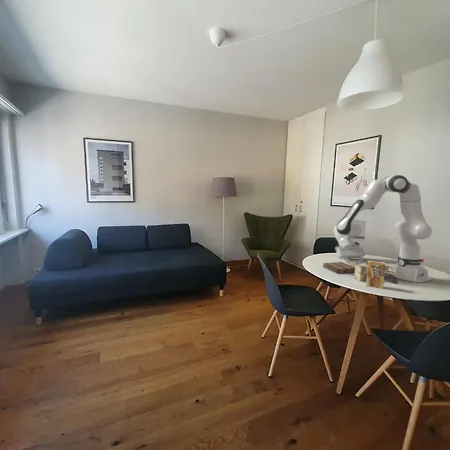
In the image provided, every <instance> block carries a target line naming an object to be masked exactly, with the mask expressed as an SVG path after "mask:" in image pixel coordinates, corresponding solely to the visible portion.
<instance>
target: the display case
mask: <svg viewBox="0 0 450 450" xmlns="http://www.w3.org/2000/svg"><path fill="white" fill-rule="evenodd" d="M352 223H356V224H358V225H359V226H360V227H361V232H360V234H359V235H358V236H356V237H354V238H351V240H352V241H355V242H358V243H360V246H361V247H362V248H363V243H364V242H365V238H366V237H365V235H366V225H367V219H366V218H363V219H356V218H355V219H354V220H353V222H352ZM347 259H348V260H350V261H351V262H358V263H360V262H359V260H360V259H359V258H347ZM362 260H363V261H364V259H363V258H362Z"/></svg>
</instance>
